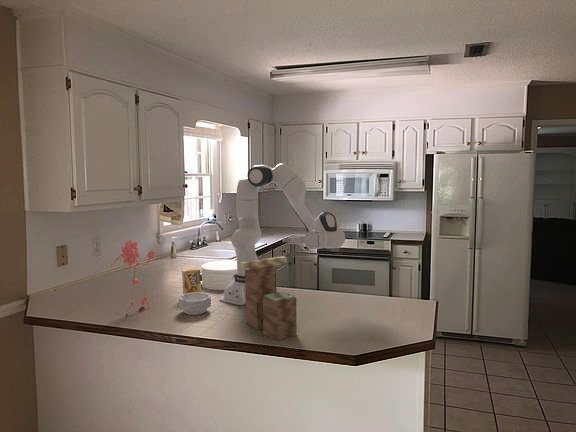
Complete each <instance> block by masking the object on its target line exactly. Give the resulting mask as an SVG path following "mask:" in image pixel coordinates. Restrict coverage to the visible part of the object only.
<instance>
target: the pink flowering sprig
mask: <svg viewBox="0 0 576 432" xmlns="http://www.w3.org/2000/svg"><path fill="white" fill-rule="evenodd" d="M137 245H138V241H136V240H135V241H133V240H132V239H129V240H125V244H124V246H121V253H120V255H118V257H117V258H115V260H114V261H113V262H112V264H111V265H110V266H111V267H112V266H114V264H116V262H117V261H118V260H119V259H120V258H121V257H122V258H123V260H122V261H123V264H127V266H128V267H129V269H132V268H133V279H132V281H131V282H132V284H131V290H130V291H131V293H130V294H131V297H130V298H131V302H130V305H129V306H128V307H129V308H128V309H127V311H126V313H128V312H129V311H130V309H131V307H132V306H133V309H134V312H135V313H136V315H139V314H138V313H139V312H138V311H137V309H136V307H135V305H134V300H133V288H134V287H133V286H134V285H136V284H138V283H139V284H142V285H146V283H145V282H141V281H139V280H138V279H137V278H135V277H136V268H137V267H138V266H140V265H141V266H148V264H149V262H150V261H151V259H153V258H154V256H155V254H156V252H155V251H154V250H152V249H151V250H150V251H149V252H147V256H146V257H147V259H148V260H147V263H139V260H138V259H139V258H140V252H139V247H138V246H137ZM143 296H144V297H142V299H141V300H140V305H141V306H142V307H143V306H145V304H147V306H148V309H151V307H150V304H149V302H148V299H149V298H148V296H147V295H146V291H144V295H143ZM156 305H158V306H159V305H160V304H159V303H158V304H156Z"/></svg>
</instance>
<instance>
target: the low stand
mask: <svg viewBox="0 0 576 432" xmlns="http://www.w3.org/2000/svg"><path fill="white" fill-rule="evenodd" d="M297 330H298V329H297V297H295V296H294V294H293V295H292V294H289V293H288V292H285V291H278V292H277V293H272V294H267V295H264V296H263V334H264V335H266V336H267V337H269V338H271V339H273V340H275V341H280V340H283V339H288V338H292V337H296V336H297V332H298V331H297Z"/></svg>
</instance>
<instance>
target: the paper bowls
mask: <svg viewBox="0 0 576 432" xmlns="http://www.w3.org/2000/svg"><path fill="white" fill-rule="evenodd" d="M211 304H212V296H211V295H210V294H209V293H206V292H201V293H187V294H183V293H182V294H181V295H180V296H178V307H179V309H180V310H183V313H184V314H186V315H190V316H197V315H203V314H204V313H206V312H207V310H208V309H209V308H211V306H212V305H211Z"/></svg>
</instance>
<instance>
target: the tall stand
mask: <svg viewBox="0 0 576 432" xmlns="http://www.w3.org/2000/svg"><path fill="white" fill-rule="evenodd" d="M245 292H246V304H245V316H246V317H245V323H246V325H248V326H250V327H252V328H254V330H257V331H259V330H262V329H263V296H264V295H267V294H272V293H277V267H276V266H269V267H263V268H256V269H250V270H245Z"/></svg>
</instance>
